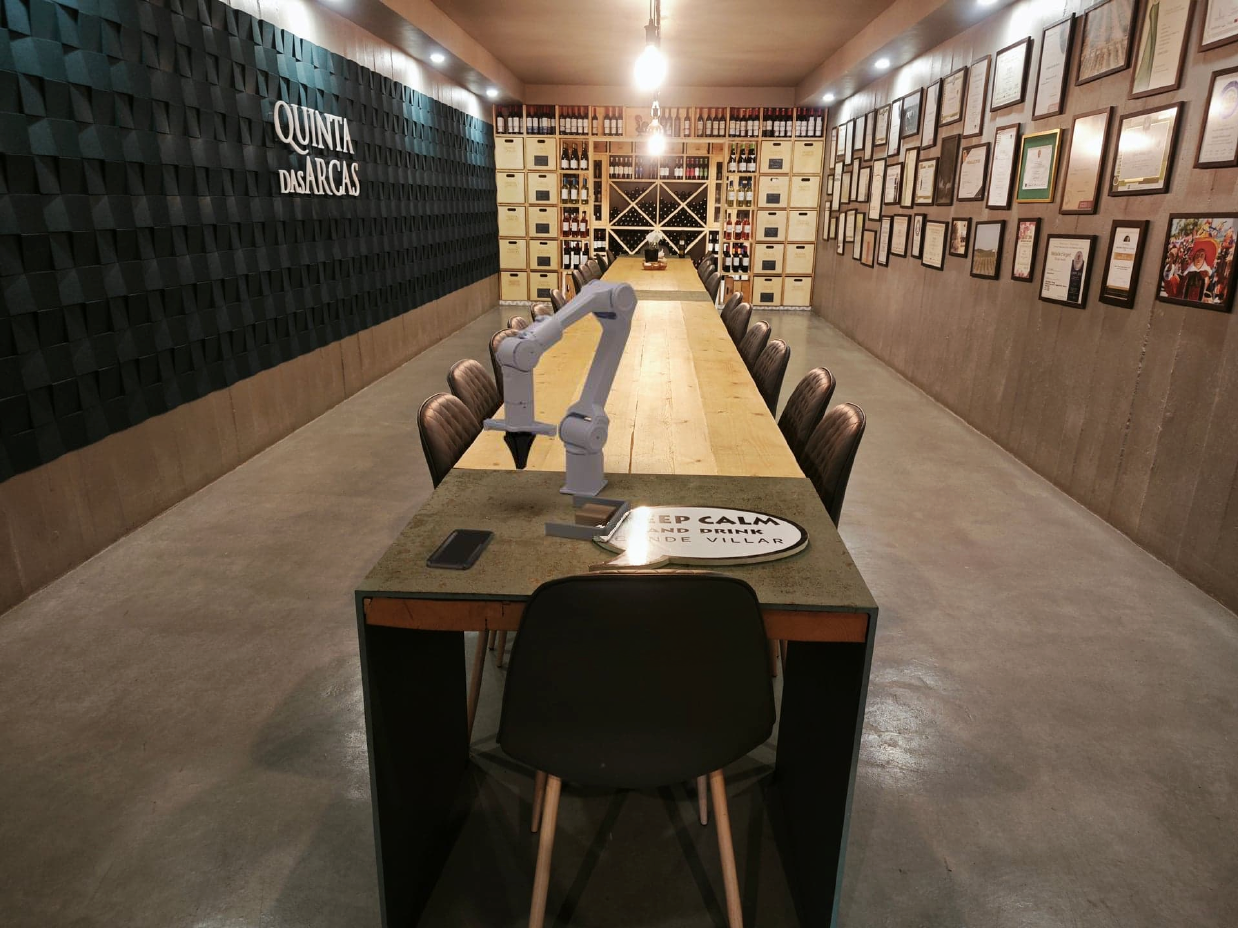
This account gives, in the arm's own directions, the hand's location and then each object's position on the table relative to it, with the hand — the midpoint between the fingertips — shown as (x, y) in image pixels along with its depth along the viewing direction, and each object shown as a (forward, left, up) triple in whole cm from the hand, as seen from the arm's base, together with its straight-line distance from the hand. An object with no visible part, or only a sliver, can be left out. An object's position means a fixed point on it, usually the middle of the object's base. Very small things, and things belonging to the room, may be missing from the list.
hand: (521, 468), depth 155 cm
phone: (+22, -2, -9) cm, 24 cm away
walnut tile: (+3, +17, -9) cm, 19 cm away
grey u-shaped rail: (+4, +15, -8) cm, 18 cm away
